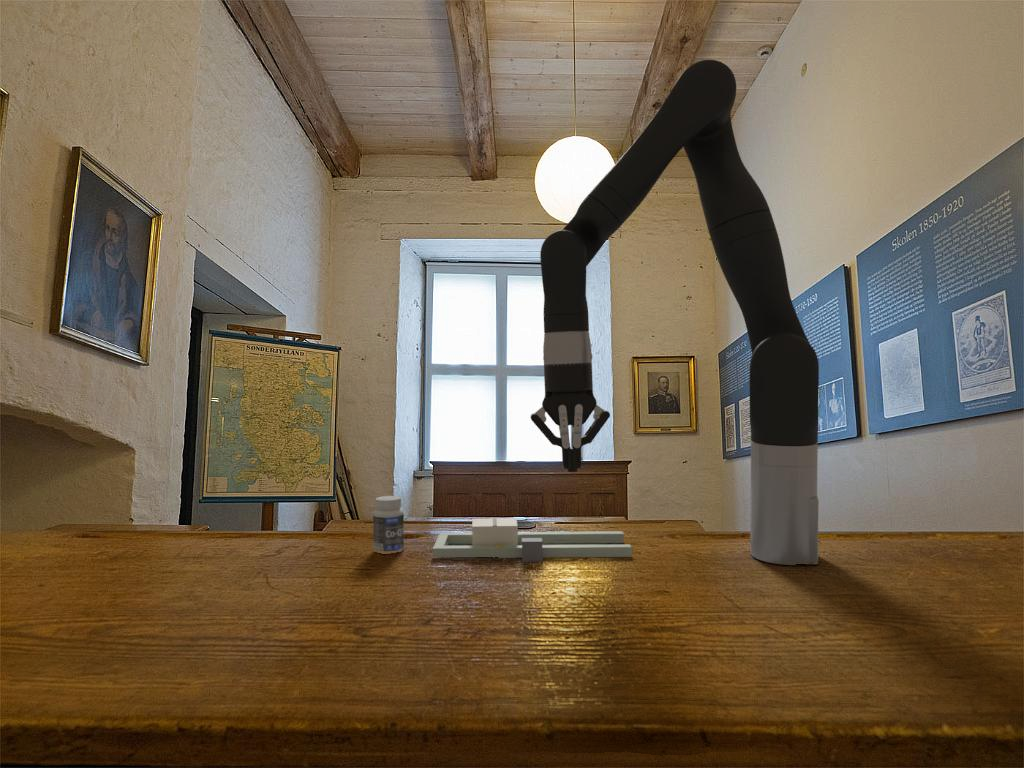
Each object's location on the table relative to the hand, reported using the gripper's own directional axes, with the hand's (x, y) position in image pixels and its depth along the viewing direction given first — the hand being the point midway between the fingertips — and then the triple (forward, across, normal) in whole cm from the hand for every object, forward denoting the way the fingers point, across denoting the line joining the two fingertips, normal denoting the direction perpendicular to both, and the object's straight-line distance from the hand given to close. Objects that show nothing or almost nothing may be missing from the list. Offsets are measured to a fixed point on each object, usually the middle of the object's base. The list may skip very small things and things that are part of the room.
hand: (571, 471), depth 107 cm
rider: (+12, +13, 0) cm, 17 cm away
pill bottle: (+12, +29, 0) cm, 31 cm away
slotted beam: (+12, +7, 0) cm, 14 cm away
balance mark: (+10, +12, 0) cm, 16 cm away
